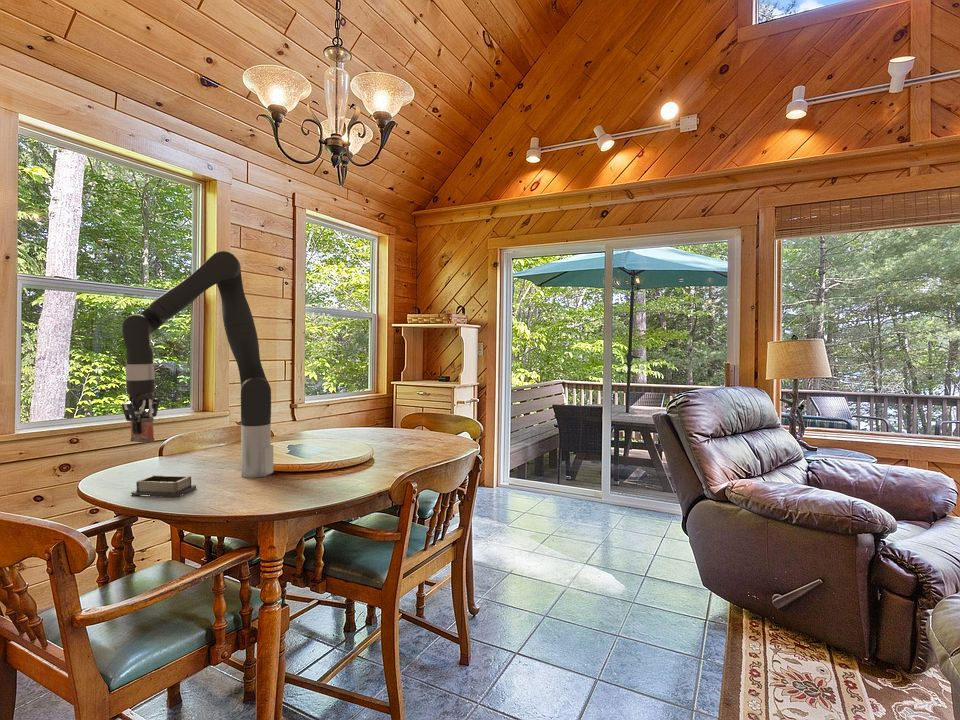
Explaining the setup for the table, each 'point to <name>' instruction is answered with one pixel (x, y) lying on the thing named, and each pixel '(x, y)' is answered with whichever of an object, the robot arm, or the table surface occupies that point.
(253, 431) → the robot arm
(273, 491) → the table surface
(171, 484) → the rectangular tray
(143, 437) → the lighter
